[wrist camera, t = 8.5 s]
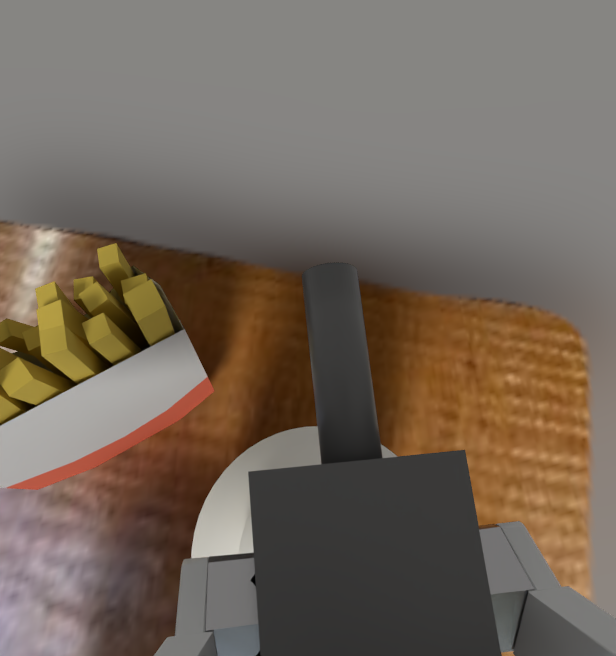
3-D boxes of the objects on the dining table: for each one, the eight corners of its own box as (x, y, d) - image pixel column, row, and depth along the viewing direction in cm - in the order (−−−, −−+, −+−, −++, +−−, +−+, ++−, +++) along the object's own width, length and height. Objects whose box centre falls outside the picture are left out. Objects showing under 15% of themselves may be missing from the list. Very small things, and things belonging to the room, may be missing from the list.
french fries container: (23, 424, 34) (-227, 345, 17) (184, 338, 36) (109, 191, 19) (54, 491, 33) (-178, 481, 16) (218, 399, 35) (171, 302, 18)
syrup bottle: (225, 628, 31) (145, 867, 11) (216, 461, 34) (139, 400, 14) (385, 608, 32) (591, 795, 12) (365, 446, 35) (503, 369, 14)
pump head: (268, 652, 17) (270, 808, 9) (248, 369, 20) (234, 265, 11) (395, 636, 18) (521, 769, 9) (359, 360, 20) (430, 252, 12)
